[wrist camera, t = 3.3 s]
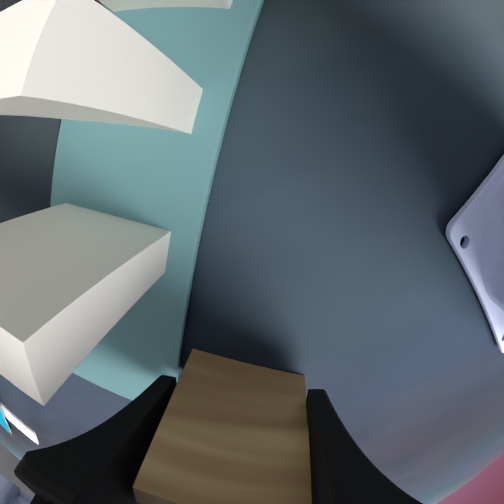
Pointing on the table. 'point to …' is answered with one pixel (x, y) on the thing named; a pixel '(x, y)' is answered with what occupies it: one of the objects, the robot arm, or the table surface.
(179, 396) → the ochre domino
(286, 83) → the table surface
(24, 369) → the cream domino
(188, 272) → the teal mat
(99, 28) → the cream domino
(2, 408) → the phone stand
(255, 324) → the table surface
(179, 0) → the cream domino
